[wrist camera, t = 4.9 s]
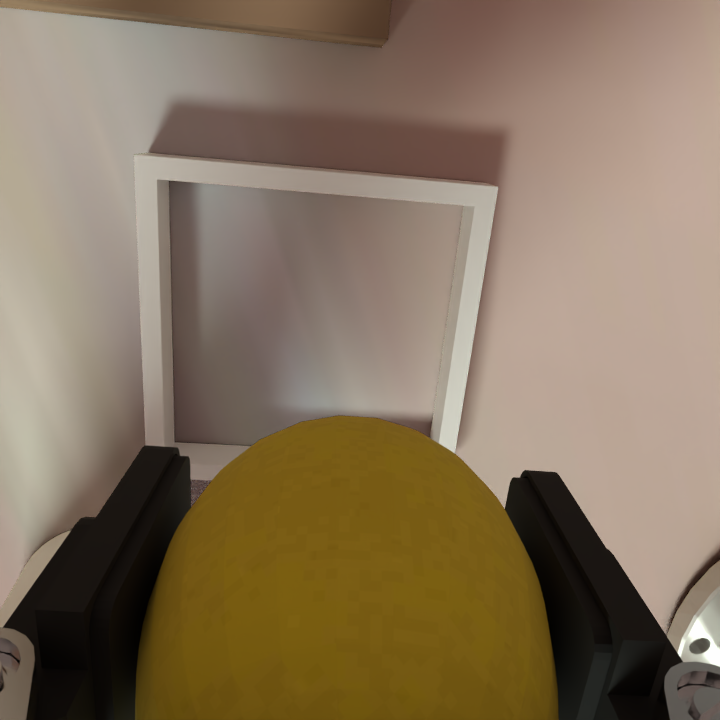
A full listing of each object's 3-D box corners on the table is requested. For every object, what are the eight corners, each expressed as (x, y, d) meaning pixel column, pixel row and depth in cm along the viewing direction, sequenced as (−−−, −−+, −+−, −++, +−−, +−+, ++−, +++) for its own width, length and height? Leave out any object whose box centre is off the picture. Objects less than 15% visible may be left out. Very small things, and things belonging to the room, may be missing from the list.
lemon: (302, 297, 11) (212, 612, 4) (534, 441, 12) (830, 910, 5) (164, 512, 13) (-102, 1051, 5) (382, 624, 14) (426, 1201, 6)
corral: (486, 183, 19) (498, 187, 17) (441, 469, 22) (448, 491, 21) (147, 152, 18) (133, 154, 16) (157, 456, 21) (146, 477, 20)
